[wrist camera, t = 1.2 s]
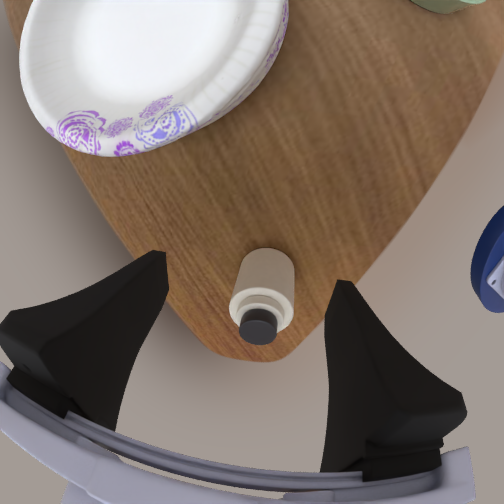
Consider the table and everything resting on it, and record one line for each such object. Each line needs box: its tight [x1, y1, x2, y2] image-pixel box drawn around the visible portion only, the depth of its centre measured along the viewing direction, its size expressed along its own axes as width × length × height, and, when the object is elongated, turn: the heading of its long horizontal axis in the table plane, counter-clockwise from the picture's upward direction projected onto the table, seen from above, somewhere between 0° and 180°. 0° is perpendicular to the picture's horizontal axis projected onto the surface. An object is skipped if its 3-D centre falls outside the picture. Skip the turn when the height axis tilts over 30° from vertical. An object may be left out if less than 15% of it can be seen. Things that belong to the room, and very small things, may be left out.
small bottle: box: [229, 248, 294, 345], centre depth 20 cm, size 4×4×7 cm
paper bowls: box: [19, 0, 289, 157], centre depth 11 cm, size 15×15×8 cm
